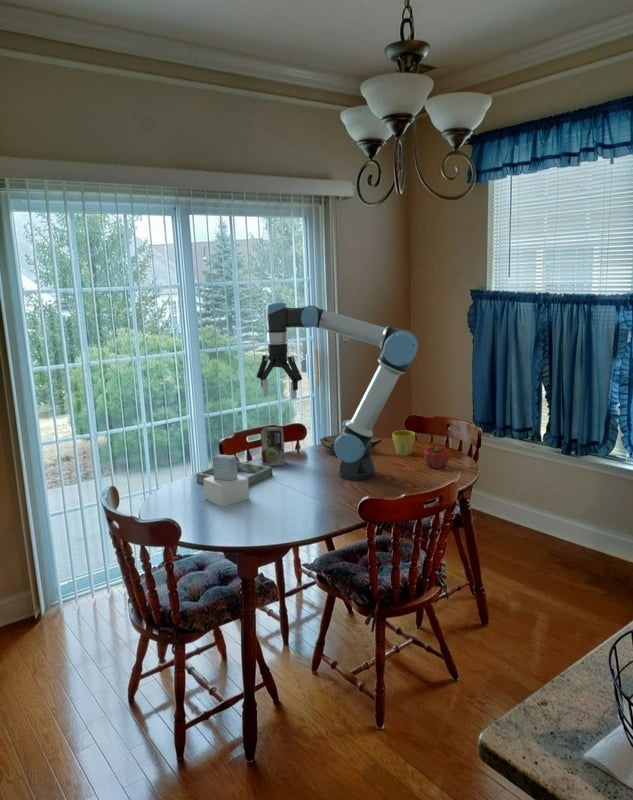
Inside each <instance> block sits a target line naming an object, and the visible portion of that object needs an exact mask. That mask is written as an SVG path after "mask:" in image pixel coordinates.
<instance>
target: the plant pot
mask: <svg viewBox="0 0 633 800" xmlns="http://www.w3.org/2000/svg"><path fill="white" fill-rule="evenodd" d="M391 434H392V435H391V437H392V441H393V443H394V448H395V452H396V455H398V454H400V455H399V456H408V455H407V454H410V455H411V454H412V452H413V451H412V450H413V448H414V447H413V446H414V442H416V432H414V431H412V430H404V429H403V430H396V431H393V432H392V433H391Z"/></svg>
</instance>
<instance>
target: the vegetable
mask: <svg viewBox="0 0 633 800" xmlns="http://www.w3.org/2000/svg"><path fill="white" fill-rule="evenodd" d="M423 458H424V462H425V464H426V466H427V467H428V468H433V469H435V468H438V469H440V468H445V467H446V466H447V465H448V462H449V459H450V453H449V450H448V449H447V447H445V446H440V445H435V444H433V445H431V446H429V447H426V448H425V449H424V451H423ZM444 466H445V467H444Z"/></svg>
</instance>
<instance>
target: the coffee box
mask: <svg viewBox="0 0 633 800" xmlns="http://www.w3.org/2000/svg"><path fill="white" fill-rule="evenodd" d="M260 432H261V433H260V435H261V451H262V466H268V467H272V466H273V467H275V466H276V467H277V466H279V467H281V466H282V467H283V466H284V464H285V463H286V461H285V459H286V458H285V441H284V440H285V439H284V427H283V426H279V427H278V426H274V427H273V426H272V427H271V426H270V427H267V426H266V427H263V428H262V429H261V431H260Z"/></svg>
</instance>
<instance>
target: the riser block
mask: <svg viewBox="0 0 633 800" xmlns="http://www.w3.org/2000/svg"><path fill="white" fill-rule="evenodd" d="M237 476H238V477H237V478H236V479H235V480H233V481H227V480H216V479H214V476H212V477H208V478H204V479H203V482H204V483H203V491H204V493H203V495H204V497H203V498H204V499H205V500H207V501H209V502H210V503H212V504H213V503H214V504H215V505H218V506H220V507H222V508H223V507H225V506H229V505H233V504H235V503H238V502H242V501H245V500H249V499H250V486H249V485H248V478H246V477H245V476H243V475H241V474H238V473H237Z"/></svg>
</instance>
